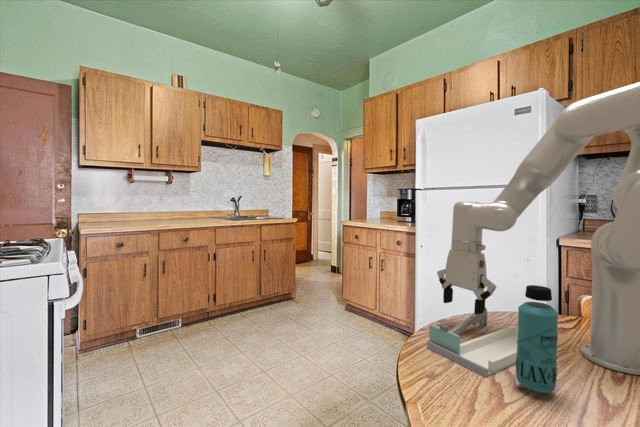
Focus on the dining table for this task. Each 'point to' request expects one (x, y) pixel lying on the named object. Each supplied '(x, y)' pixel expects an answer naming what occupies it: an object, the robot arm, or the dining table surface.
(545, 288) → the beverage bottle
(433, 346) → the housing
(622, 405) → the dining table surface
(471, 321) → the caliper
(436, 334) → the gate
